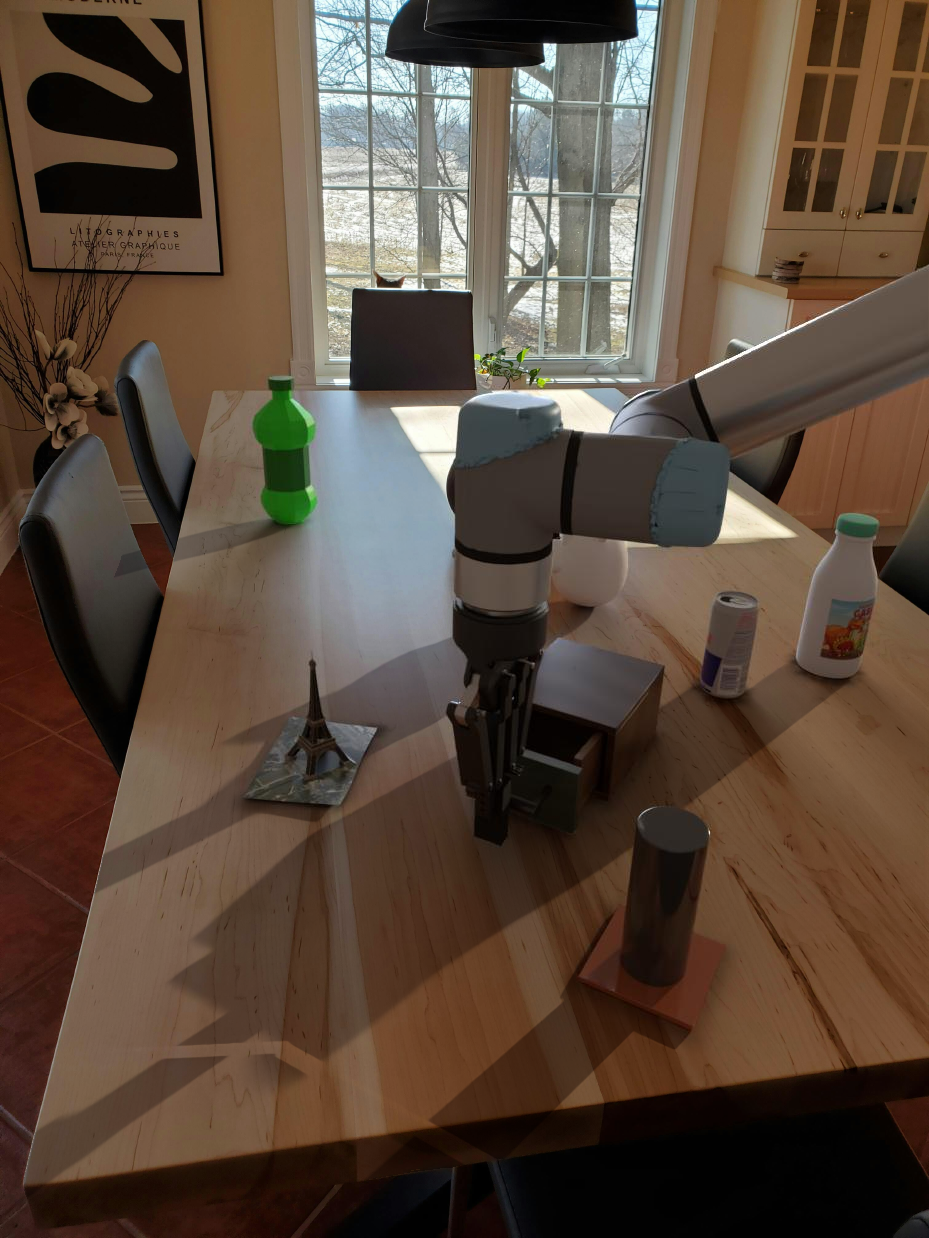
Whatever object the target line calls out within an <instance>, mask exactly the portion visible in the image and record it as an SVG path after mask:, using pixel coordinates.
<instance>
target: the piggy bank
mask: <svg viewBox="0 0 929 1238" xmlns="http://www.w3.org/2000/svg"><path fill="white" fill-rule="evenodd" d="M559 537H560V538H559V539H557V538H556V539H555V538H553V545H552V568H551V582H552V584H553V586H554V588H555V590H556V591H557V593H558V594H559V595H560V596H561V597H562V598H563V599H565V600H567V601H568V602H570V603H572V604H574V605H578V606H583V607H599V606H603V605H605V604H608V603H610V602H612V601H614V600H615V599H616V598H617V597H618V596H619V594H621V592H622V591H623V588H624V586H625V584H626V581H627V576H628V570H629V555H628V553H629V552H628V546H627V541H620V540H611V539H602V538H594V537H585V536H577V535H565V534H559Z"/></svg>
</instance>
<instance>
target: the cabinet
mask: <svg viewBox="0 0 929 1238" xmlns="http://www.w3.org/2000/svg"><path fill="white" fill-rule="evenodd" d="M665 669H666V665H665V664H660V663H657V662H654V661H649V660H647V659H642V658H638V657H634V656H630V655H626V654H622V653H619V652H615V651H612V650H608V649H603V648H601V647H596V646H592V645H590V644H589V645H588V644H585V643H582V642H577V641H574V640H571V639H566V638H562V637H557V638H556V639H555V640H554V641H553V642H551V643H550V645H549V646H548V647H547V648H545V650H543V657H542V660H541V664H540V667H539V670H538V674H537V678H536V684H535V691H534V697H533V703H532V710H535V711H538V712H541V713H545V714H548V715H551V716H555V717H558V718H561V719H564V720H568V721H571V722H574V723H577V724H581V725H584V726H587V727H590V728H594V729H597V730H600V731H604V732H607V733H608V737H607V746H606V756H605V765H604V774H603V780H602V781H601V782H600V784H599V785H598V786H597V788H596V789H595V791H594V792H593V793H592V795H591V796H592V797H594V798H598V799H601V800H603V801H607V802H609V801H610V799H611V798H612V797H613V795H614V794H615V792H616V791H617V789H619V786H620V785H621V783H622V782H623V781H624V779H625V778H626V776H627V775H628V773H629V772H630V770H631V769H632V767H633V766H635V765H634V764H635V763H636V762H637V761H638V759H639V758H640V756H641V755H642V753H643V751H644V750H645V749H646V747H647V746H648V744H649V743H650V742H651V740H652V739H653V737H654V736H655V734H656V733H657V727H658V721H659V715H660V714H659V713H660V705H661V700H662V699H661V698H662V691H663V684H664V677H665ZM591 796H590V797H591Z"/></svg>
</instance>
